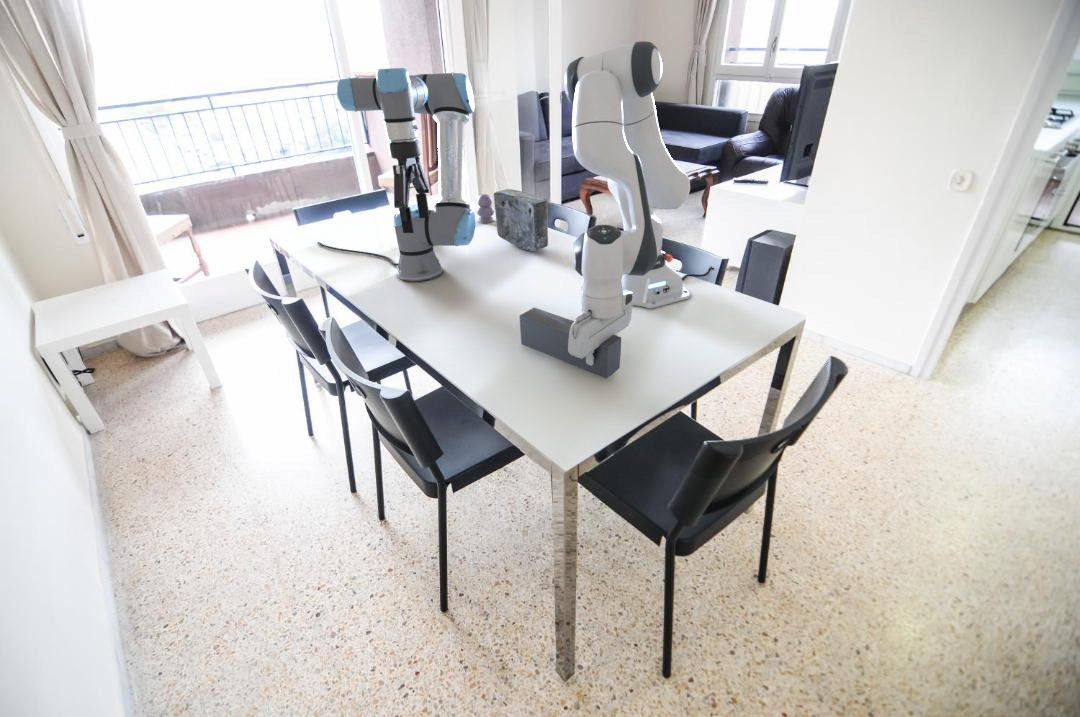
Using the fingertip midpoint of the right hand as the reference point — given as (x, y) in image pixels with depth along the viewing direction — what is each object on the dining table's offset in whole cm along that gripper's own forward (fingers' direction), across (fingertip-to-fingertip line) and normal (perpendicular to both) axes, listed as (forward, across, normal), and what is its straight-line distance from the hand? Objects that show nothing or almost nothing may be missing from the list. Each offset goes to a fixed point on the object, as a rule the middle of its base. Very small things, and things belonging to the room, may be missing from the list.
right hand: (599, 357), depth 115 cm
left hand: (-22, -3, +58) cm, 62 cm away
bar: (+3, 0, +9) cm, 10 cm away
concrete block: (+5, +58, +75) cm, 95 cm away
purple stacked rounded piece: (+5, +75, +114) cm, 136 cm away
